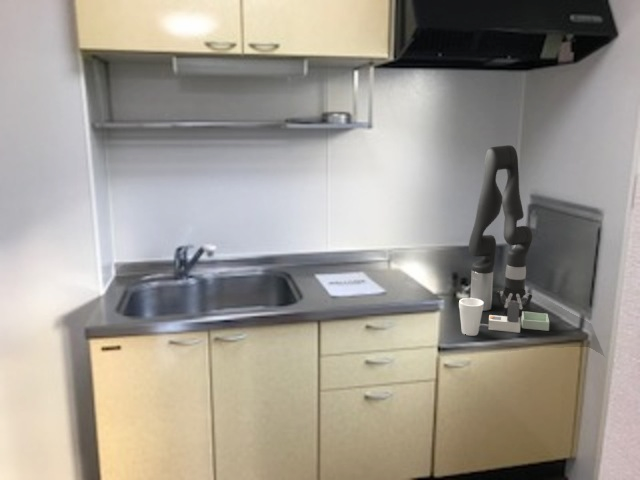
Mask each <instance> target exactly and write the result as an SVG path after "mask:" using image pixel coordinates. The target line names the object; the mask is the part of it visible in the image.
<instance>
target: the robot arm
mask: <svg viewBox="0 0 640 480" xmlns="http://www.w3.org/2000/svg"><path fill="white" fill-rule="evenodd" d="M501 170H506V175H507V180H506V184H505V188H504V191H503V193H502V192H501V190H500V188H499V186H498V184H497V181H496V180H497V174H498V171H501ZM519 174H520V172H519V158H518V152H517V149H516V148H515V147H514V146H513V145H509V144H508V145H507V144H506V145H498V146H491V147H489V148H488V149H487V151H486V154H485V158H484V166H483V177H482V184H481V189H480V190H481V191H480V193H479V198H478V203H477V209H476V214H475V215H476V216H475V220H474V225H473V227H472V230H471V234H470V238H469V242H468V252H469V254H470V255H471V256H472V257H482V258H481V259H480V260H476V261H475V262H473V263H472V265H471V274H470V276H471V277H470V279H471V280H470V297H469V298H475V299H479V300H482V301H483V302H484V305H483V311H489V310H491V309H492V301H493V283H494V282H493V281H494V268H495V263H496V261H495V260H496V253H497V240H496V238H495V236H494V235H492V234H484V233H485V231H486V230H487V229H488V227H489V226H490V225H491V224H492V223H493V222H494V221H495V220H496V219H497V217H499V215H500V212H501V210H502V209H503V215H504V222H503V223H504V224H503V225H504V226H503V238H504V240H505V243H506V244H508V245H509V246H514V247H513V248H511V249H510V250H509V251H508V252H507V256H506V257H507V258H506V267H505V273H504V288H503V290H496V296H497V300H498V303H499V306H500V307H502V308H503V315H504V316H506V317H507V313H508V303H509V302H510V301H513V300H514V301H518V304H519V318H520V319H521V317H522V311H523V309H528V307H529V305H530V303H531V302H532V301H531V300H532V298H533V293H532V292H527V291H526V289H525V288H526V276H527V267H526V264H527V256H528V252H529V250H530V247H531V245H532V241H533V231H532V230H531V228H530V227H528V226H527V225H521V226H517V224H518V223H517V222H518V221H520V220H522V219H523V218H524V216H525V215H524V211H523V205H522V199H521V193H520V175H519ZM503 295H504V296H505V297H506V298H505V301H504V302H503V298H502V297H503ZM523 297H525V298H526V300H525V302H524V303H522V299H523ZM483 311H482V312H483Z"/></svg>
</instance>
